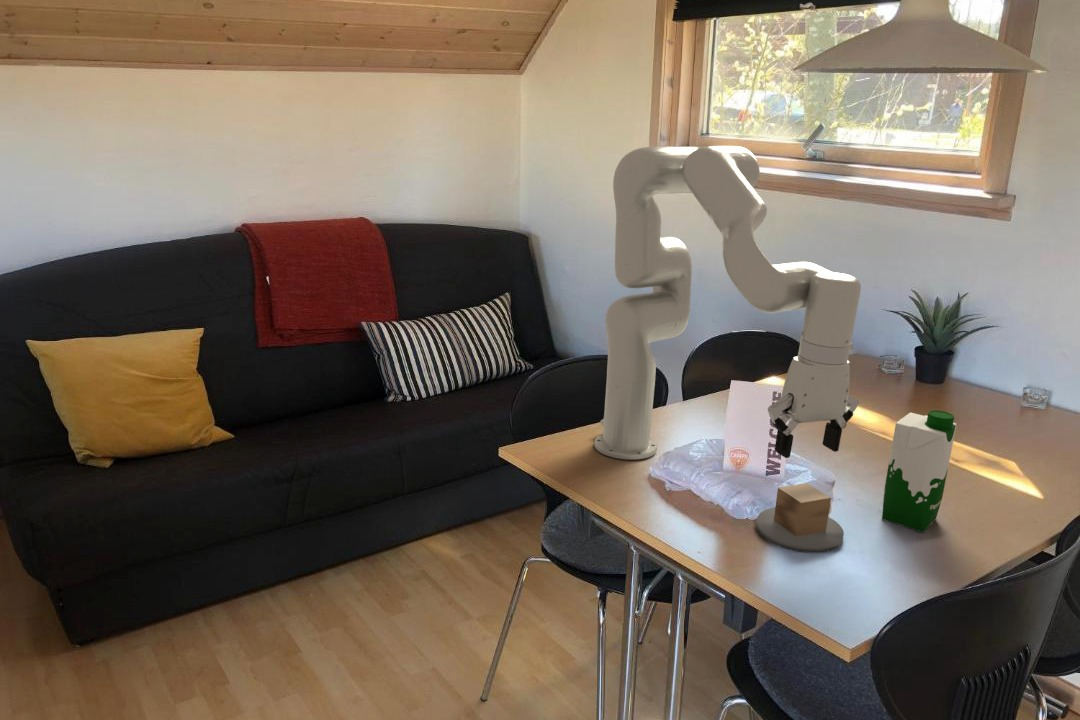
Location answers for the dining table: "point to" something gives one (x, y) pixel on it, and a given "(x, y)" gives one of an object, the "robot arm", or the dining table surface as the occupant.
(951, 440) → the soya milk
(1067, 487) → the dining table surface
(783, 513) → the walnut cube
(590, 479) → the dining table surface
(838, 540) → the slate plate
